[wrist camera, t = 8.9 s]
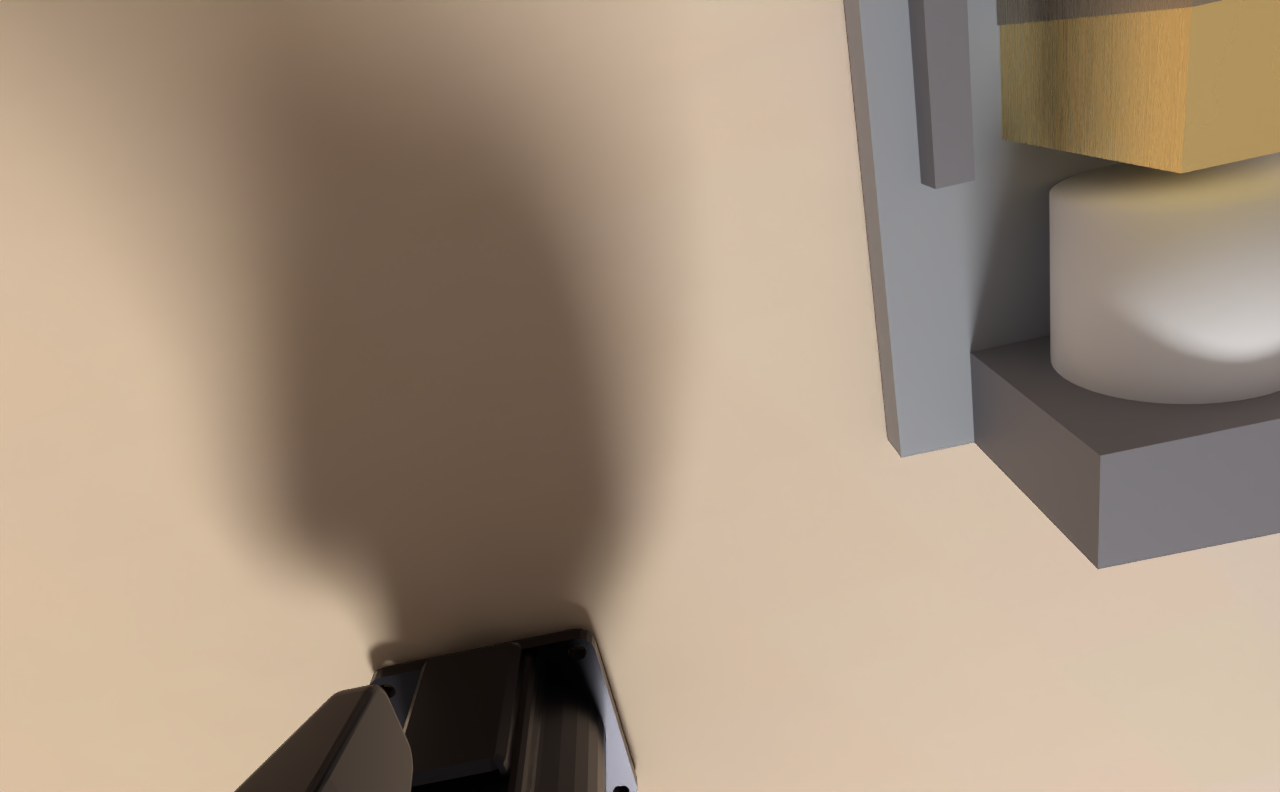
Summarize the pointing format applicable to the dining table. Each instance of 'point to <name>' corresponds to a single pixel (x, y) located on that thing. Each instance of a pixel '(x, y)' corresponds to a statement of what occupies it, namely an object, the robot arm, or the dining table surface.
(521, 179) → the dining table surface
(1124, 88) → the banded gold block
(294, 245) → the dining table surface
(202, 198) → the dining table surface
